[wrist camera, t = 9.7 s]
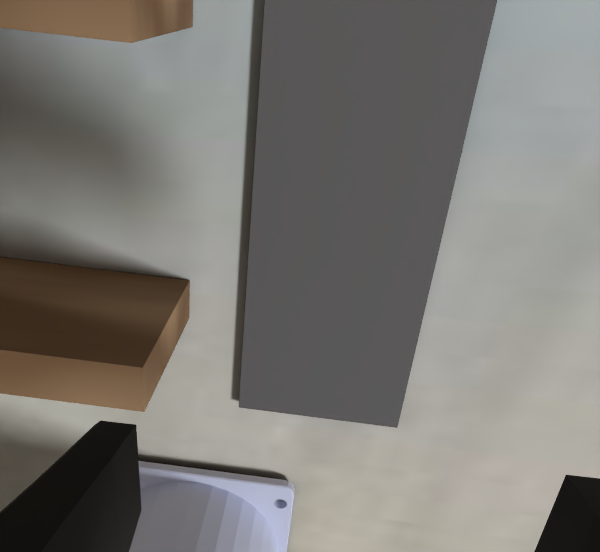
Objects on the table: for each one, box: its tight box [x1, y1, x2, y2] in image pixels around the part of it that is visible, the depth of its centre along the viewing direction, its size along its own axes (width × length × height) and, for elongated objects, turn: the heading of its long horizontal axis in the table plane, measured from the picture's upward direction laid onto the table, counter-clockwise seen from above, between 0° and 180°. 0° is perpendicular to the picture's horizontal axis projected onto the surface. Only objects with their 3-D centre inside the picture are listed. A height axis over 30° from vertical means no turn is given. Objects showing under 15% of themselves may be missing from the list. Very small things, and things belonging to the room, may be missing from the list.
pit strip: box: [239, 0, 497, 428], centre depth 17 cm, size 18×6×1 cm, turn 174°
